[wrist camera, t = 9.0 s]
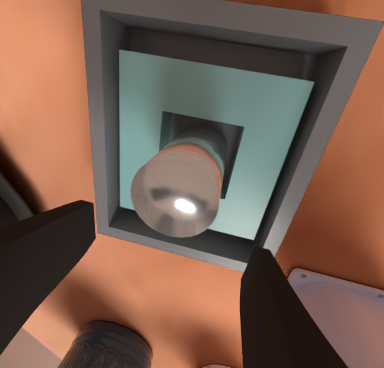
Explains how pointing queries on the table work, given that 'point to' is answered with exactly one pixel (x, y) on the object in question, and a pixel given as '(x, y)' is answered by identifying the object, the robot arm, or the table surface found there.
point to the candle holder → (216, 366)
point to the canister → (107, 348)
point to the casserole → (11, 204)
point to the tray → (223, 48)
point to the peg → (182, 183)
